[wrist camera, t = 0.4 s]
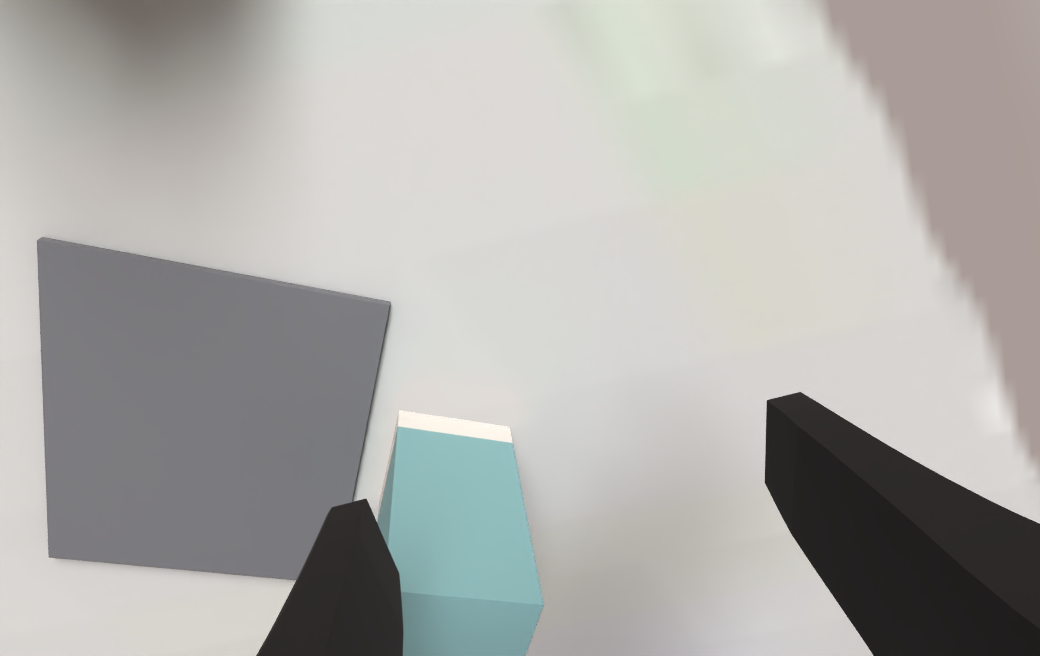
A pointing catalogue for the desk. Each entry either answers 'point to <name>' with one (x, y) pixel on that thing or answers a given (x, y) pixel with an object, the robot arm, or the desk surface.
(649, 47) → the desk surface
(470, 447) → the teal block
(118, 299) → the pad
